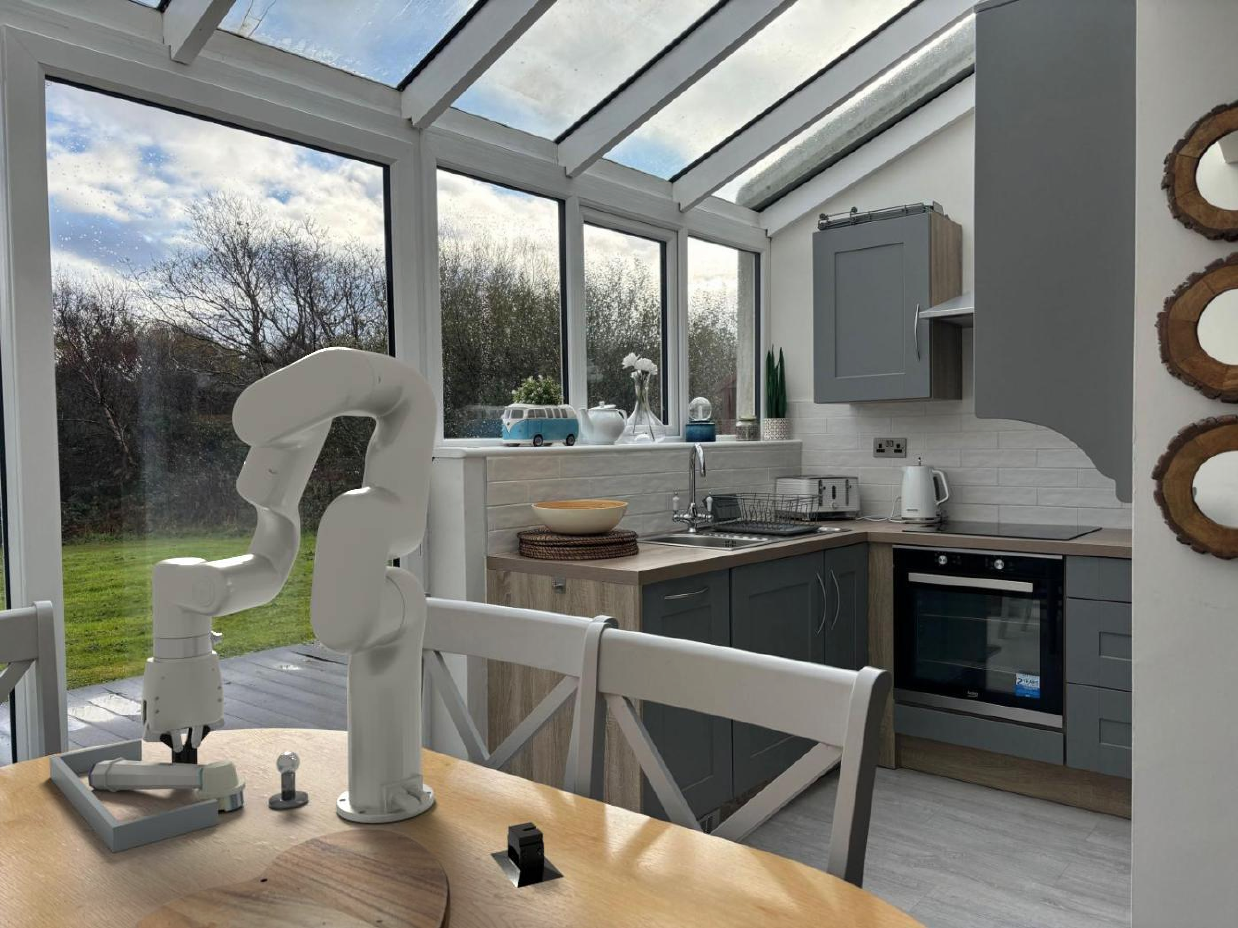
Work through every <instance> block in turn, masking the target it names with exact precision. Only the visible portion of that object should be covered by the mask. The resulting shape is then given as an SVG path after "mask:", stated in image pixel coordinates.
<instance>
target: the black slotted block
mask: <svg viewBox="0 0 1238 928" xmlns="http://www.w3.org/2000/svg"><path fill="white" fill-rule="evenodd" d="M507 830H508V833H507V849H505V850H501V851H496V852H495V851H494V852H491V853H490V854H489V855H490V856H491V857H492V858H493V860H494V861H495V863H497V865H498V866H499V867H500V869H501V870H502V871H503V873H504V874H505V875H506V876H507V877H508V878H509V880H510V881H511V883H513V885H514V886H515V887H516V888H518V889H520V888H523V887H528V886H533V885H537V884H541V883H545V882H549V881H553V880H557V879H562V878H564V877H565V876H564V874H563V873H561V871H560V870H559V869H558V868H557V867H556V866H554V864H553V863H552V862H551V861H550V860H549V859H548V858H547V857H546V856H545V842H544V833H543V832H542V831H541V830H540V829H539V828H537V826H536V825H535V824H534V823H533V822H532V821H530V822H525V823H519V824H514V825H509V826H508V827H507Z"/></svg>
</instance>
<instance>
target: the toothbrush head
mask: <svg viewBox="0 0 1238 928" xmlns="http://www.w3.org/2000/svg"><path fill="white" fill-rule="evenodd" d="M87 781H88V786H89V787H91V788H92V789H94V790H103V791H110V792H111V793H116V792H118V791H138V790H139V791H141V790H142V791H143V790H144V791H145V790H146V791H148V790H151V791H153V790H186V789H187V790H189V789H190V790H192V789H193V790H195V789H196V792H195V794H196V798H198V799H200V802H203V801H207V800H211V799H216V800H218V811H220V810H224V811H225V812H228V811H232V810H235V809H238V808H239V807H241V806H243V805H244V804H245V796H244V793H243V792H244V791H245V788H246V781H245V780H241V779H239V777H238V774H237V770H236V765H235V763H234V762H233V761H232V760H219V761H214V762H211V763H210V762H209V763H208V764H202V763H200V764H183V763H172V762H161V761H160V762H159V761H145V760H144V761H143V760H138V761H129V760H125V759H124V758H123V757H121V758H118V759H115V760H109V761H101V762H98V763H95V764H93V766H92V768H91V770H90V771H88V773H87Z"/></svg>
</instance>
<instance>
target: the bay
mask: <svg viewBox="0 0 1238 928" xmlns="http://www.w3.org/2000/svg"><path fill="white" fill-rule="evenodd" d="M142 743H143V739H142V738H136V739H131V740H125V741H121V742H117V743H112V744H107V745H106V744H105V745H101V746H96V747H91V748H86V749H81V750H76V751H72V752H71V751H70V752H67V753H66V752H65V753H62V754H61V753H60V754H56V755H52V756H49V778H50V779H51V780H52V782H53V783H54V784H55V785H56V786H57V787H58V788H59V790H60V791H61V792H62V794H63V795H64V796H65V797H66V798H67V799H68V801H69V802H70V803H71V804H72V806H74V808H75V809H76V810H77V812H78V813H79V815H81V817H83V818H84V819H85V821H86V822H87V824H89V825H90V827H91V828H92V830H94V832H95V833H96V834H97V836H98V837H100V839H101V840H102V842H103V843H104V844H105V845H106V846H107V847H108V849H109V850H110V851H111V852H112V853H113V854H114V853H118V852H122V851H125V850H128V849H133V848H135V847H136V848H137V847H140V846H143V845H147V844H150V843H151V844H152V843H155V842H158V841H162V840H166V839H169V838H173V837H177V836H181V835H184V834H188V833H191V832H196V831H198V830H203V829H206V828H209V827H212V826H217V825H219V810H218V800H216V799H211V800H207V801H203V802H201V801H200V802H196V803H192V804H189V805H188V804H187V805H185V806H180V807H176V808H173V809H168V810H163V811H161V812H158V813H153V814H149V815H144V816H141V817H136V818H133V819H130V820H125V821H122V822H120V821H119V820H118V819H117V818H116V817H115V815H113V814H112V812H111V811H110V810H109V809H108V808H107V807H106V806H105V805H104V804H103V803H102V802H101V801H100V799H99V798H98V797H97V796H96V795H95V794H94V793H93V791H91V790H90V789H89V787H87V785H86V784H85V783H84V782H83V781H82V780H81V779H80V778H79V777H78V775H77V774H82V773H86V772H89V771H90V770H91V768H92V766H93V764H95V763H98V762H101V761H109V760H115V759H118V758H121V757H123V758H124V759H125V760H129V761H143V747H142V746H143V745H142Z"/></svg>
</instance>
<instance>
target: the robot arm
mask: <svg viewBox="0 0 1238 928" xmlns="http://www.w3.org/2000/svg"><path fill="white" fill-rule="evenodd" d="M437 408H438V407H437V402H436V398H435V394H434V392H433V390H432V388H431V385H430V384H429V383H428V380H426V378H425V377H424V376H423V375H422V373H420V372H419V370H416V368H414V367H413V366H412V365H410V364H408V363H406V362H405V361H403V360H401V359H399V358H397V357H393V356H392V355H388V354H384V353H378V352H374V351H368V350H360V349H355V348H351V347H350V348H349V347H344V346H343V347H340V346H335V347H328V348H323V349H320V350H317V351H315V352H313V353H311V354H309V355H306V356H305V357H303V358H301V359H298V360H296V361H295V362H293V363H291V364H289V365H286V366H285V367H283V368H280V369H279V370H276V371H274V372H272V373H269V374H268V375H266V376H264V377H262V378H261V379H258V380H256V381H255V382H253V383H252V384H250V385H249V386H248V387H246V388H245V389H244V390H243V391H242V392H241V394H240V395H239V396H238V397H237V399H236V402H235V403H234V406H233V410H232V417H231V421H232V426H233V430H234V432H235V434H236V436H237V437H238V438H239V439H240V440H241V441H242V442H243V443H245V444H247V445H248V446H250V449H249V451H248V454H247V456H246V459H245V460H244V463H243V465H242V468H241V470H240V473H239V475H238V477H237V478H236V479H237V480H236V483H235V488H236V491H237V493H238V494H239V496H241V498H243V500H245V501H246V502H248V503H249V504H251V505H253V506H254V507H255V509H256V513H257V523H256V528H255V532H254V535H253V538H252V540H251V542H250V543H249V544H250V545H249V546H248V549H247V550H246V553H245V554H244V555H240V556H236V557H235V556H234V557H229V558H224V559H219V560H214V561H208V560H206V559H204V558H201V557H200V558H199V557H176V558H175V557H174V558H168V559H163V560H160V561H157V563H156V564H155V565H154V566H153V568H152V575H151V576H152V579H151V581H152V582H151V583H152V647H153V649H152V651H153V653H152V654H153V657H148V658H147V659H146V662H145V666H144V673H143V678H142V688H141V689H142V690H141V699H140V700H141V701H140V703H141V704H140V722H141V725H142V726H143V729H142V734H141V740H142V741H144V742H146V743H163V744H164V745H166V746H167V747H168V748H170V749H171V763H183V764H198V763H199V762H198V748H199V747H201V744H202V741H203V742H204V740H205V738H206V737H207V736H208V734H209V733H211V732H214V731H216V730H219V729H221V728H223V727H225V719H224V714H225V694H224V685H223V677H222V671H221V670H222V669H221V664H220V661H219V657H218V653H217V652H216V651H215V650H214V649H215V645H217V644H218V643H219V644H220V643H223V634H222V633H216V632H214V631H213V623H212V622H213V620H212V619H213V617H214V618H215V617H223V616H228V615H231V614H234V613H238V612H241V611H244V610H248V609H251V608H255V607H259V606H262V605H266V604H267V603H269V602H270V601H272V600H273V599H275V598H276V597H277V595H278V594H279V593H280V592H281V590H282V589H283V587H284V585H285V584H286V581H287V580H288V577H289V575H290V572H291V570H292V567H293V566H294V564H295V561H296V558H297V556H298V553H299V550H300V545H301V518H300V513H299V504H300V501H301V498H302V496H303V494H304V491H305V489H306V486H307V484H308V482H309V479H310V477H311V475H312V472H313V470H314V469H315V468H314V467H315V465H316V462H317V460H318V458H319V456H320V454H321V451H322V448H323V446H324V444H325V442H326V440H327V437H328V434H329V432H330V430H331V427H332V423H333V419H335V418H337V417H341V416H347V417H349V416H351V417H369V418H372V419H374V420H375V424H376V425H375V428H374V431H373V433H372V435H371V437H370V439H369V442H368V444H367V449H366V453H365V461H364V463H365V464H364V473H363V480H362V484H361V488H359V489H352V490H349V491H346V492H344V493H341V494H340V495H338V496H337V497H336V498H334V499H333V500H332V501H331V503H330V504H328V506H327V507H326V509H325V511H324V512H323V515H322V516H321V519H320V521H319V524H318V525H319V526H318V529H317V535H316V543H315V552H314V559H313V560H314V562H313V571H312V572H313V573H312V582H311V590H310V591H311V592H310V600H309V601H310V602H309V615H310V616H309V617H310V624H311V627H312V628H311V629H312V631H313V633H314V636H315V638H316V639H317V640H318V642H319V643H320V644H321V645H322V646H323V647H324V648H325V649H326V650H328V651H330V652H331V653H334V654H338V655H345V656H346V655H349V657H348V664H347V676H346V677H347V679H346V682H347V686H346V687H347V688H346V689H347V690H346V693H347V694H346V696H347V697H346V698H347V699H346V700H347V701H346V703H347V705H346V708H347V714H346V716H347V781H348V782H347V784H348V786H347V790H345V791H344V792H343V793H341V794H340V795H339V797H337V799H336V801H335V810H336V813H337V814H338V815H339V816H340V817H341V818H343V819H345V820H347V821H351V822H356V823H363V824H364V823H365V824H382V823H383V824H384V823H391V822H399V821H402V820H407V819H409V818H413V817H415V816H418V815H421V814H423V813H424V812H426V811H427V810H428V809H429V808H430V807H432V806H433V804H434V802H435V801H434V800H435V792H434V789H433V788H432V787H431V786H429V785H428V784H426V783H424V776H423V755H422V754H423V753H422V752H423V750H422V748H423V747H422V746H423V745H422V742H423V741H422V733H423V731H422V656H423V655H422V653H423V644H424V643H423V641H424V635H425V628H426V620H427V611H428V609H427V597H426V592H425V589H424V587H423V585H422V583H421V581H420V580H419V579H418V578H417V577H416V576H415V575H414V574H413V573H412V572H411V571H409V570H407V569H404V568H402V567H398V566H392V565H391V566H389V565H388V561H392V560H396V559H399V558H400V559H401V558H403V557H405V556H407V555H409V554H411V553H413V552H414V551H416V550H417V549H418V548H419V547H420V545H421V543H422V541H423V539H424V537H425V533H426V531H425V530H426V526H427V515H428V507H429V505H428V503H429V497H430V496H429V495H430V487H431V486H430V485H431V477H432V465H433V464H432V463H433V453H434V446H435V439H436V433H437V425H438V424H437V423H438V409H437ZM185 729H186V736H185V741H184V743H183V739H182V733H181V730H185Z"/></svg>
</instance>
